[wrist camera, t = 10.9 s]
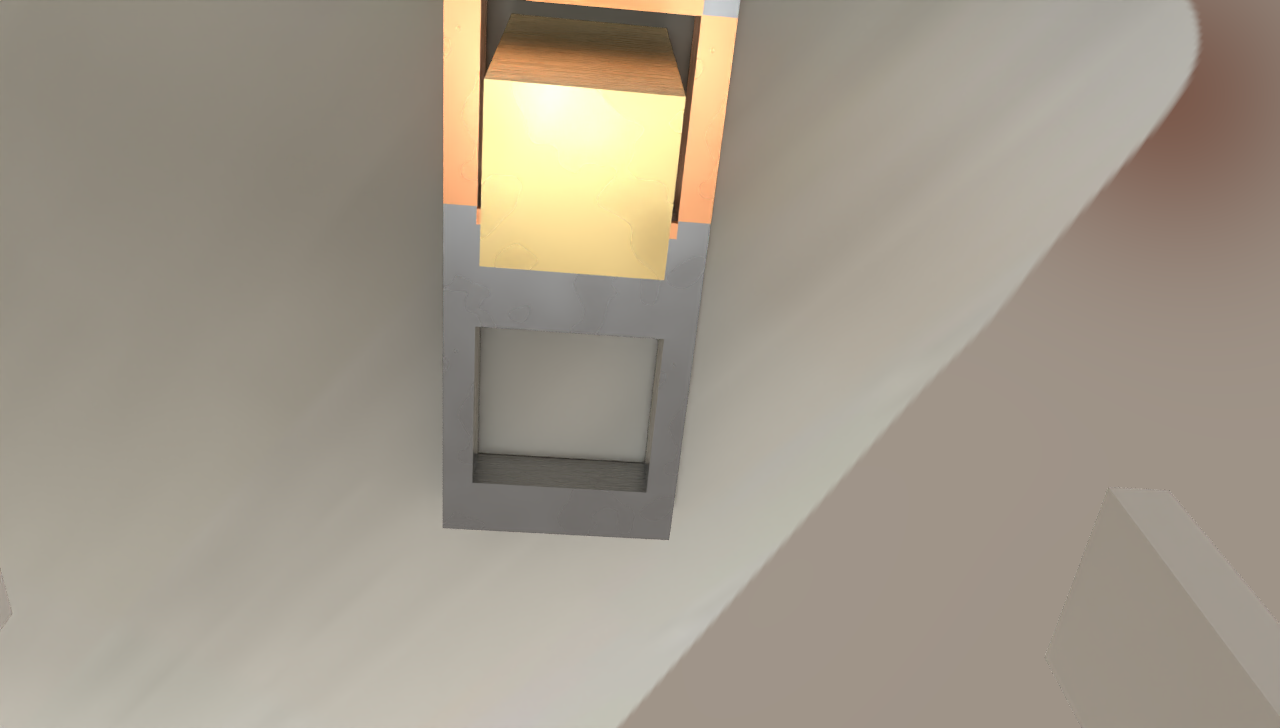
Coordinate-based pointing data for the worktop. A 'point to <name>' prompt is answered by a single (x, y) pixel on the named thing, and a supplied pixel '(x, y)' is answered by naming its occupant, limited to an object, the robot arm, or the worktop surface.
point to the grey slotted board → (573, 303)
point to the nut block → (580, 148)
